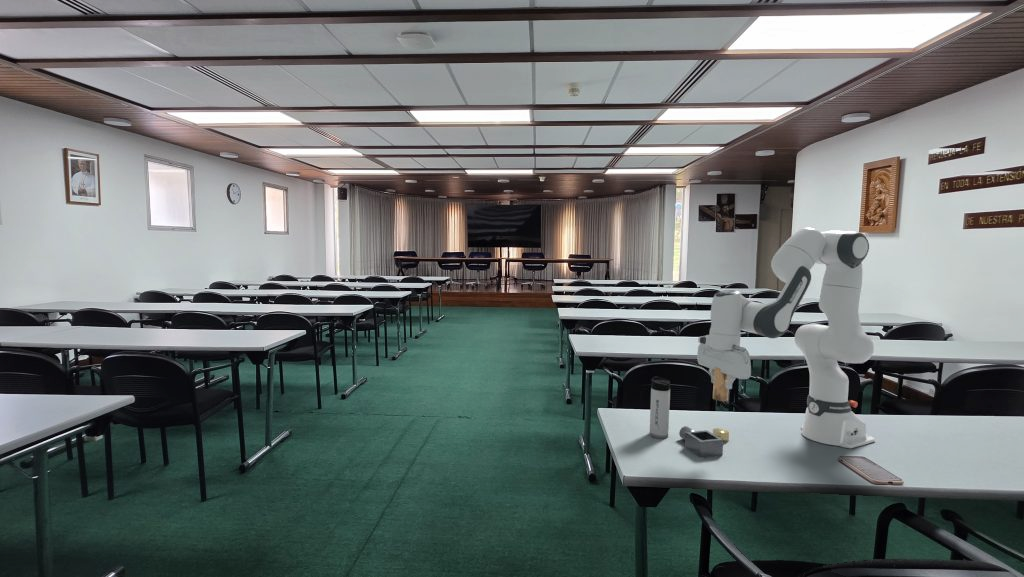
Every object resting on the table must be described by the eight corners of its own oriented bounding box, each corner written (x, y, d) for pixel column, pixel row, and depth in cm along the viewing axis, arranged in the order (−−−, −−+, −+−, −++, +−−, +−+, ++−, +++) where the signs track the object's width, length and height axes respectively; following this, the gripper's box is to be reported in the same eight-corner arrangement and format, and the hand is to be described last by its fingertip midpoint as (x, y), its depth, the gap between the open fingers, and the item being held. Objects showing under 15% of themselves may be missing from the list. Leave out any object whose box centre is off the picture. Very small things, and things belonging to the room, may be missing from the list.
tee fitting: (694, 437, 161) (695, 423, 161) (722, 454, 148) (723, 439, 147) (674, 439, 159) (675, 425, 159) (700, 457, 146) (701, 441, 145)
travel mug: (660, 430, 167) (662, 375, 166) (672, 437, 161) (674, 380, 160) (645, 432, 166) (647, 377, 164) (656, 439, 159) (658, 382, 158)
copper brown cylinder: (721, 396, 149) (723, 365, 149) (731, 400, 145) (733, 369, 144) (709, 397, 148) (711, 366, 148) (719, 401, 144) (721, 369, 143)
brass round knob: (721, 436, 163) (722, 427, 163) (731, 441, 158) (732, 433, 158) (709, 437, 162) (709, 429, 162) (719, 443, 157) (719, 434, 157)
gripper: (758, 348, 136) (754, 395, 137) (711, 336, 156) (708, 377, 157) (740, 349, 135) (736, 396, 136) (694, 336, 154) (692, 377, 155)
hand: (721, 385), depth 147 cm, fingers closed on copper brown cylinder, 4 cm apart
